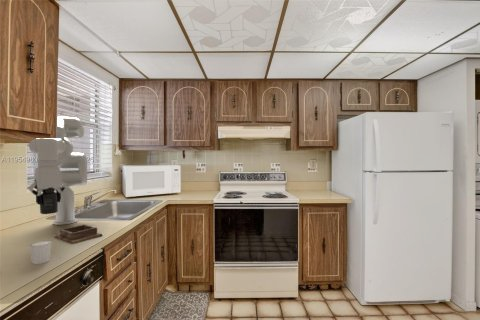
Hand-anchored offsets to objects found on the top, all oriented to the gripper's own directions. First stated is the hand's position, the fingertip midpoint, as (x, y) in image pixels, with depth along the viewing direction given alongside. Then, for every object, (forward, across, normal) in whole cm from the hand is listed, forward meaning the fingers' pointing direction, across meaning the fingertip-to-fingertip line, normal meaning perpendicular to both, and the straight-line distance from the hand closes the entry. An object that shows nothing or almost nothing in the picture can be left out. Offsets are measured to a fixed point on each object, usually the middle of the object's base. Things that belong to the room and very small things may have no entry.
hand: (48, 202), depth 124 cm
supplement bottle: (+5, 0, 0) cm, 5 cm away
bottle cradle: (+19, -13, 0) cm, 23 cm away
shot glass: (+19, +11, +20) cm, 30 cm away
